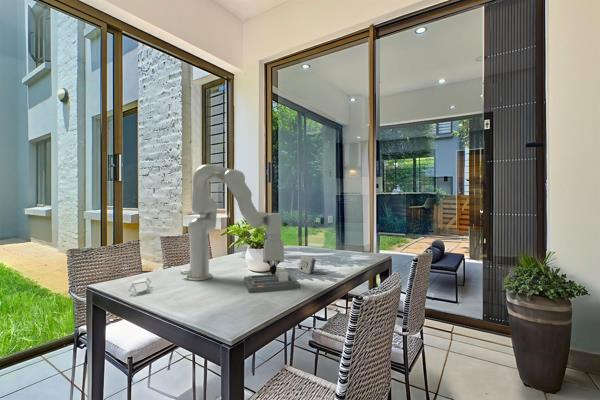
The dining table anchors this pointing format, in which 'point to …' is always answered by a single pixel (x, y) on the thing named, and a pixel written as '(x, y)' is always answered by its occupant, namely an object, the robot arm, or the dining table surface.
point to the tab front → (282, 276)
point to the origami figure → (140, 282)
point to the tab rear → (279, 270)
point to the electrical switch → (306, 264)
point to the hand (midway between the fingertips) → (273, 273)
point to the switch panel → (269, 283)
